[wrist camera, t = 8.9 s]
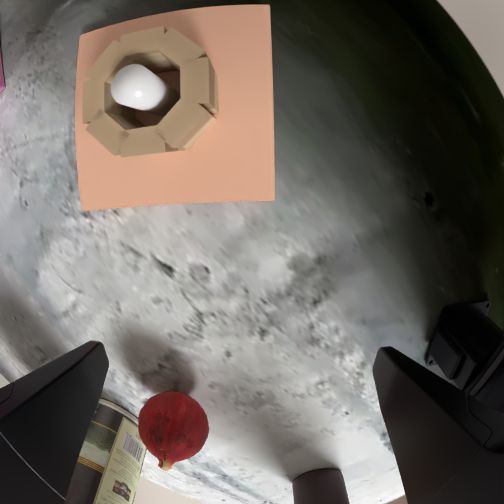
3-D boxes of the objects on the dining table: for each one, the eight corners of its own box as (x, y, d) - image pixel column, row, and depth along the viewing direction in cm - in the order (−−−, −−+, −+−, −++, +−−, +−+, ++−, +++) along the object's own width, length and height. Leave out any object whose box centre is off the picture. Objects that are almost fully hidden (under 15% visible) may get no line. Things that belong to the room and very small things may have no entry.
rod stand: (268, 14, 13) (277, -40, 7) (272, 196, 18) (285, 223, 12) (90, 41, 13) (36, 13, 7) (92, 206, 18) (35, 234, 11)
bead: (217, 47, 13) (208, 19, 9) (220, 148, 15) (211, 147, 11) (117, 63, 13) (85, 46, 9) (119, 158, 15) (84, 164, 11)
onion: (141, 370, 22) (114, 443, 15) (206, 372, 22) (194, 452, 15) (158, 412, 24) (141, 478, 17) (216, 414, 24) (210, 485, 17)
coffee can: (59, 410, 26) (16, 495, 12) (89, 381, 23) (34, 494, 10) (124, 454, 28) (100, 540, 15) (168, 435, 26) (146, 547, 13)
